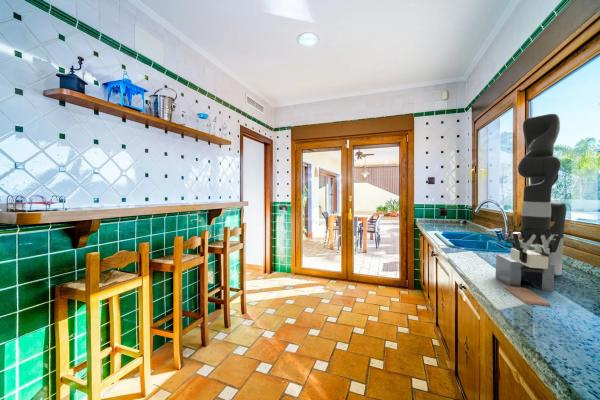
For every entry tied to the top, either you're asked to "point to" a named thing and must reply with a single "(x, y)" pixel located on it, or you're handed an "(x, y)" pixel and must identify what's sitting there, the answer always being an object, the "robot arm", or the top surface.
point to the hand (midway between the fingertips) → (533, 262)
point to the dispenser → (523, 273)
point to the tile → (527, 296)
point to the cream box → (531, 259)
